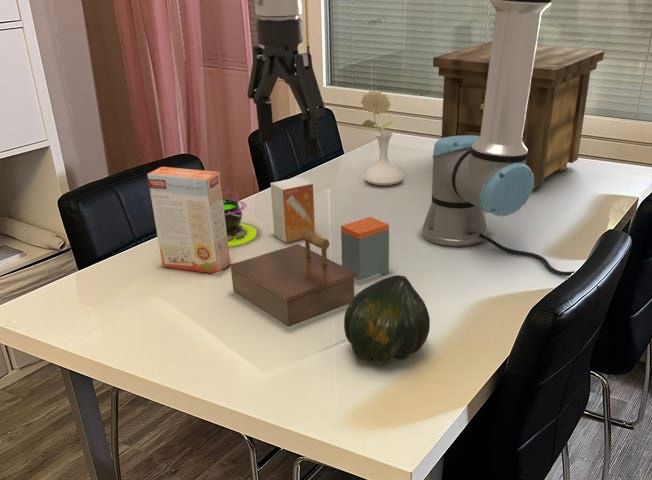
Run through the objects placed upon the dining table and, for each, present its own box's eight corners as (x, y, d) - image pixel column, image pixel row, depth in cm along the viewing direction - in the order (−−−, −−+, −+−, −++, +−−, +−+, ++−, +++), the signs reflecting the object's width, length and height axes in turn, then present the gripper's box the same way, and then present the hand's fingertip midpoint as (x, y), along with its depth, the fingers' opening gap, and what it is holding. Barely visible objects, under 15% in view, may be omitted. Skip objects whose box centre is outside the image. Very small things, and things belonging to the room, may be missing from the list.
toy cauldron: (267, 238, 171) (263, 193, 166) (207, 252, 165) (201, 205, 159) (241, 219, 182) (237, 177, 177) (184, 231, 176) (178, 187, 170)
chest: (296, 273, 155) (295, 248, 152) (354, 305, 142) (354, 278, 139) (233, 294, 146) (230, 268, 143) (289, 330, 133) (287, 302, 130)
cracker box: (231, 264, 159) (221, 170, 148) (218, 275, 154) (206, 179, 143) (176, 256, 163) (162, 164, 152) (161, 267, 158) (145, 172, 147)
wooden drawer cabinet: (586, 166, 219) (604, 50, 202) (540, 198, 195) (556, 69, 178) (483, 149, 237) (491, 41, 220) (428, 176, 212) (433, 57, 195)
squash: (315, 332, 121) (370, 281, 112) (352, 299, 133) (405, 249, 124) (372, 394, 122) (431, 348, 113) (404, 355, 134) (460, 310, 125)
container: (370, 264, 158) (370, 216, 153) (388, 273, 154) (389, 224, 149) (342, 274, 154) (340, 225, 148) (360, 283, 150) (359, 233, 144)
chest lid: (298, 247, 152) (296, 218, 149) (357, 277, 139) (356, 246, 136) (230, 268, 143) (227, 238, 140) (287, 302, 130) (284, 269, 127)
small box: (286, 243, 169) (282, 189, 162) (273, 235, 173) (269, 182, 166) (316, 236, 172) (313, 183, 166) (303, 228, 177) (300, 176, 170)
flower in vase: (410, 180, 209) (412, 90, 196) (390, 191, 201) (391, 97, 188) (372, 173, 215) (372, 85, 202) (351, 183, 207) (349, 92, 194)
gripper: (219, 13, 124) (233, 138, 135) (305, 26, 107) (312, 167, 119) (256, 9, 128) (267, 131, 139) (344, 22, 112) (348, 159, 123)
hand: (287, 148), depth 129 cm, fingers open, 13 cm apart
